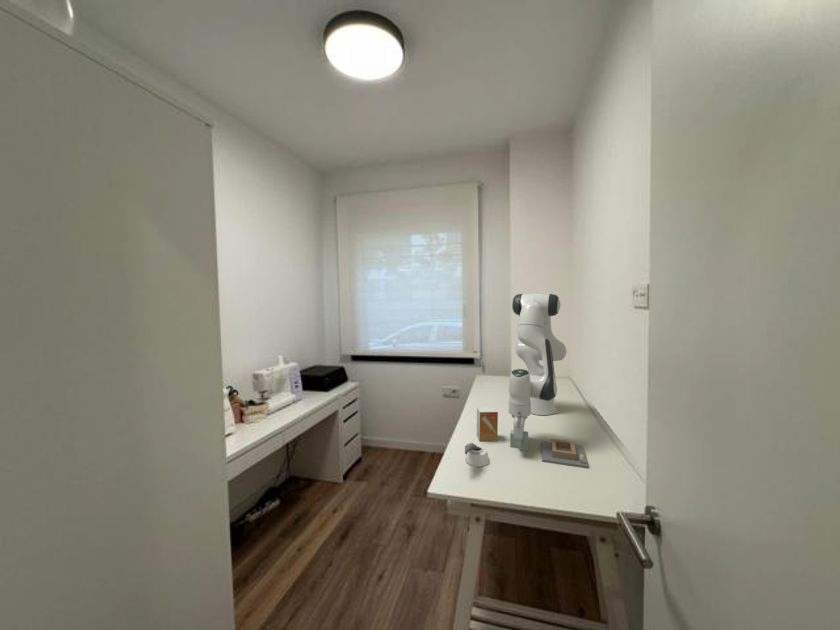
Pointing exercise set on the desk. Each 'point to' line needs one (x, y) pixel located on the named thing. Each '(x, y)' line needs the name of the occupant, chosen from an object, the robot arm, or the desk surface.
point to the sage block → (523, 442)
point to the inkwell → (476, 455)
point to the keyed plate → (563, 453)
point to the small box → (487, 424)
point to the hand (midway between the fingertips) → (519, 441)
